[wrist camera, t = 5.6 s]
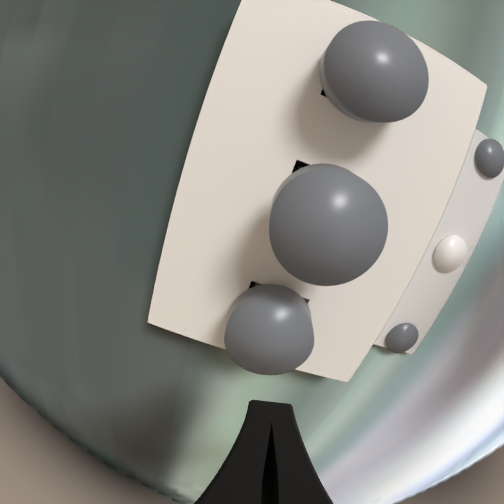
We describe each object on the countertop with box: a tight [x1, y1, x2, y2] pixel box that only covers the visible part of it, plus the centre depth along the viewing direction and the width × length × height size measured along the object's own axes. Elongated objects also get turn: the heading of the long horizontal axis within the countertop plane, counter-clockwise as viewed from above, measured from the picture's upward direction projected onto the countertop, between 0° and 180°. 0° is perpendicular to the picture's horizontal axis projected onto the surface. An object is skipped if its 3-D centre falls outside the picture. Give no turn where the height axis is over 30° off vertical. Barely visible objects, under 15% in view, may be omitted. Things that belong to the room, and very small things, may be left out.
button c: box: [224, 282, 314, 375], centre depth 16 cm, size 4×4×4 cm
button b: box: [269, 163, 388, 286], centre depth 12 cm, size 4×4×4 cm
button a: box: [319, 20, 429, 123], centre depth 11 cm, size 4×4×4 cm
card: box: [374, 129, 504, 354], centre depth 16 cm, size 3×14×1 cm, turn 161°
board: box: [148, 0, 487, 382], centre depth 15 cm, size 12×18×2 cm, turn 161°
